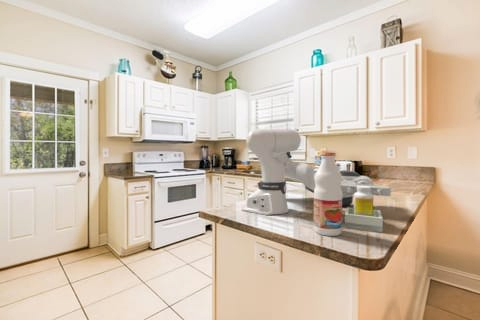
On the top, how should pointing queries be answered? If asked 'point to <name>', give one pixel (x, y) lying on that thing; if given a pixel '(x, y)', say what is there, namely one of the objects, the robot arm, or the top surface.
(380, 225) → the sage tray
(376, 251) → the top surface
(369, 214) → the supplement bottle
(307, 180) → the robot arm
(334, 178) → the fruit juice
